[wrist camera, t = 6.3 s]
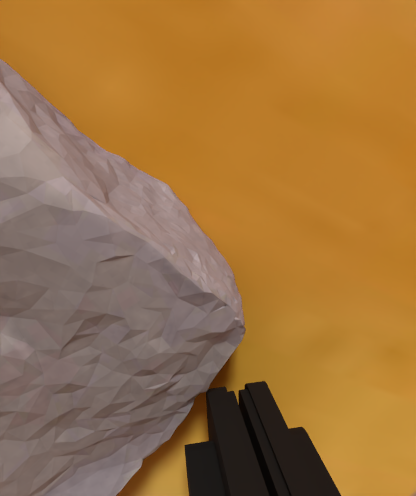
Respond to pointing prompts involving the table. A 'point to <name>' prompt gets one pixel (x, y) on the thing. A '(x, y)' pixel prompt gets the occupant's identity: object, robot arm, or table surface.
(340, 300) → the table surface
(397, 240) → the table surface
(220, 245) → the table surface
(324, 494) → the robot arm
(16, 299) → the stone block
